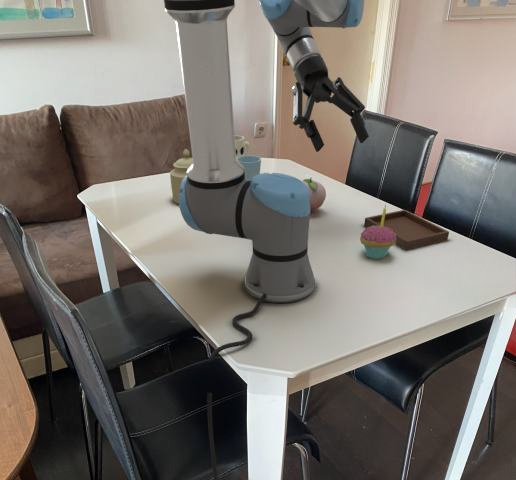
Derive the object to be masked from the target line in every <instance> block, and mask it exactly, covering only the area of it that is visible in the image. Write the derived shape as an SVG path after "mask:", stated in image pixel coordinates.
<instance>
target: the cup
mask: <svg viewBox="0 0 516 480" xmlns="http://www.w3.org/2000/svg"><path fill="white" fill-rule="evenodd" d="M236 160H237V161H238V162H239V163H241V164H242V165H243V166H244V171H245V180H248V181H252V178H253V177H254V176H256V175H258V174H261V165H262V157H260V156H257V155H245V156H241V157H238V158H237V159H236Z"/></svg>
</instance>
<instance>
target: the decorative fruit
mask: <svg viewBox="0 0 516 480" xmlns="http://www.w3.org/2000/svg"><path fill="white" fill-rule="evenodd" d="M302 182H303V183H304V184H305V185H306V186H307V187H308V189H309V192H310V207H311V209H310V210H311V211H310V213H311V212H314V211H317V210H319V209H320V208H321V207H322V205H324V203H325V200H326V198H327V191H326V188H325V186H324V185H323V184H322V183H321V182H319V181H317V180H313V179H312V177H310V178H305V179H303V180H302Z"/></svg>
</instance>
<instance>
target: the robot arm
mask: <svg viewBox="0 0 516 480" xmlns="http://www.w3.org/2000/svg"><path fill="white" fill-rule="evenodd" d="M258 3H259V6H260V8H261V10H262V14H263V16H264V17H265V19H266V20H267V22H268V23H269V25H270V26H271V29H272V30H273V32H274V34H275V35H276V37H277V39H278V41H279V43H280V46H281V48H282V50H283V53H285V56H286V59H287V61H288V63H289V65H290V69H291V70H292V72H293V73H294V76H295V79H296V82H295V83H294V85H293V86H292V87H291V95H292V98H293V104H292V124H293V125H294V126H298V128H299V129H301V130H304V133H305V135H306V138H308V139H310V140H311V144H312V146H313V148H314V150H315V153H319V152H320V151H321V150H322V149H323V147H324V146H325V143H324V141H323V138H322V136H321V134H320V131H319V129H318V126H317V125H316V123H315V120H314V119H311V117H312V112H313V109H314V105H315V104H319V103H326V102H327V103H328V104H332V105H334V106H335V107H337V108H338V109H340V110H341V111H342V112H344V113H345V114H346V115H348V117H350V119H349V121H350V123H351V126H352V128H353V130H354V132H355V135H356V137H357V139H358V141H359V143H360V144H363V143H364V142H365V141H366V140H367V139H368V138H369V137H370V135H369V133H368V131H367V128H366V127H365V126H366V124H365V121H364V118H363V116H362V112H363V111H364V110H365V109H366V106H365V104H363V103H362V102H361V101H360V99H359V98H358V97H356V95H355V94H354V93H353V92H352V91H351V89H350V88H348V87H347V86H346V84H345V82H344V81H343V79H342V78H341V77H340V76H338V77H336V79H335V80H332V79H331V78H330V77H329V69H328V66H327V65H326V62H325V60H324V58H323V57H322V56H323V55H322V53H321V51H320V49H319V47H318V45H317V42H316V40H315V38H314V37H313V34H312V31H311V29H310V28H336V29H337V28H338V29H339V28H342V29H348V28H357V27H358V26H359V25H360V24H361V21H362V19H363V14H364V9H365V0H258ZM163 4H164V10H165V12H166V13H167V14H168V15H169V16H170V17H171V18H172V19H173V20H174V22H175V27H176V34H177V43H178V50H179V52H178V53H179V58H180V67H181V74H182V75H181V77H182V84H183V91H184V97H185V98H184V99H185V107H186V108H185V109H186V116H187V124H188V133H189V140H190V148H191V156H192V157H191V158H193V164H192V165H191V166H190V168H189V169H188V170H187V176H186V177H185V178H184V179H183V181H182V183H181V185H180V192H181V194H179V204H178V205H179V211H180V214H181V216H182V219H183V221H184V222H185V223H186V225H187V226H188V227H189V228H191V229H192V230H194V231H197V232H202V233H205V234H208V235H219V236H225V237H232V238H238V239H243V240H244V239H245V240H250V241H251V243H252V244H251V245H252V254H251V257H250V260H249V264H248V267H247V270H246V273H245V276H244V288H245V291H246V293H248V294H249V295H250V296H252V297H253V298H255V299H257V300H258V301H257V303H256V304H255V306H254V307H253V309H251V310H250V311H248V312H243V313H239V314H237V315H235V316H234V317H233V318H232V321H231V322H232V325H233V327H235V328H236V329H238V330H240V331H241V332H243V333H245V334H246V335H247V338H245V339H243V340H239V341H233V342H228V343H225V344H223V345H220V346H218V347H217V348H216V349H214V350H213V352H212V353H211V354H210V356H209V358H208V362H209V363H210V362H211V363H212V362H213V361H214V360H215V358H216V356H217V355H218V354H220V352H222V351H224V350H227V349H230V348H236V347H241V346H245V345H247V344H249V343H250V342H251V341H252V339H253V333H252V331H251V330H249V329H248V328H246V327H245V326H243V325H241V324H239V322H238V320H240V319H244V318H248V317H251V316H253V315H254V314H256V313H257V312H258V310H259V309H260V307H261V305H262V304H263V302H267V303H274V304H287V303H293V302H298V301H300V300H302V299H305V298H307V297H308V296H309V295H311V294H312V293H313V292H314V290H315V275H314V271H313V268H312V266H311V262H310V259H309V254H308V252H309V251H308V249H309V247H308V246H309V229H310V214H311V212H310V211H311V210H310V209H311V207H310V192H309V189H308V187H307V186H306V185H305V184H304V183H303V180H301V179H299V178H298V177H295V176H292V175H289V174H285V173H279V172H272V173H269V172H262V173H260V174H258V175H256V176H254V177H253V178H252V181H248V180H245V171H244V166H243V165H242V164H241V163H239V162H238V161H237V160H236V149H235V121H234V108H233V107H234V106H233V105H234V104H233V94H232V79H231V78H232V77H231V61H230V48H229V34H228V32H229V31H228V17H229V16H230V15H231V13H232V12H233V10H234V9H235V7H236V1H235V0H163ZM303 94H304V95H305V96H306V97H307V98H306V102H305V107H304V110H303V99H304V98H303V96H304V95H303ZM239 345H240V346H239ZM206 395H207V401H206V403H207V405H206V406H207V407H206V408H207V410H206V411H207V429H208V441H209V449H210V458H211V465H212V466H211V468H212V477H213V480H219V479H218V477H219V476H218V468H217V457H216V450H215V442H214V441H215V440H214V428H213V393H212V392H207V394H206Z"/></svg>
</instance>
